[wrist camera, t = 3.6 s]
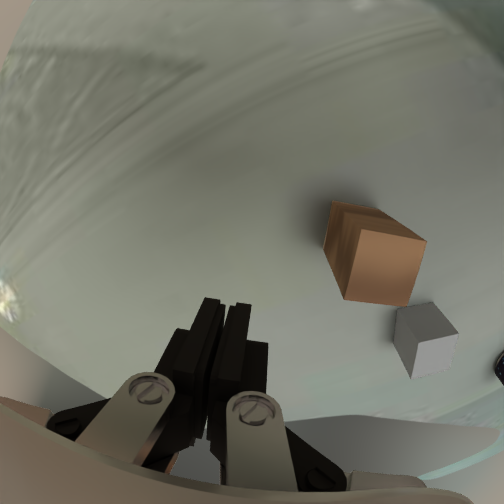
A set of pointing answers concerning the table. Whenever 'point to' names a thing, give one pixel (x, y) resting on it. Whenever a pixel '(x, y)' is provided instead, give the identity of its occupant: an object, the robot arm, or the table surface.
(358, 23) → the table surface
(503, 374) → the beverage can
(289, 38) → the table surface
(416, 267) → the walnut block
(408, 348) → the slate block
